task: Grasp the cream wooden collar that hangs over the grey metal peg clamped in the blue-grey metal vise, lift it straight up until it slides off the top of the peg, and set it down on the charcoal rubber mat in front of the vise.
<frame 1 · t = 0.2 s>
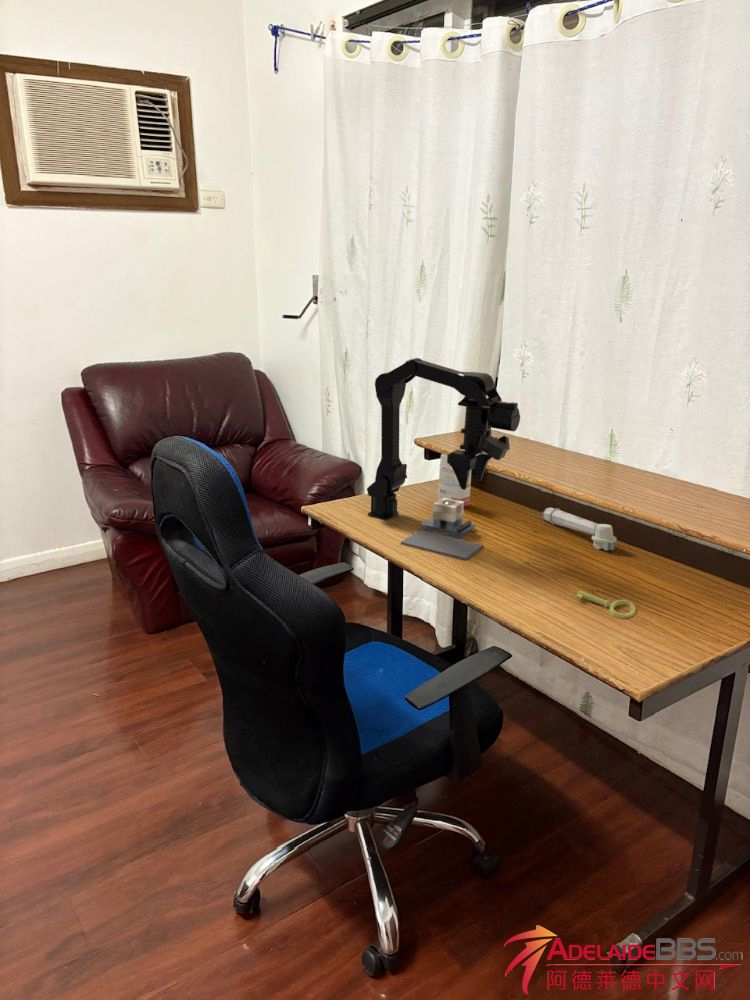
hand: (471, 484, 186), 14 cm above the table, tool pointing down, fingers open, 9 cm apart
charcoal mat: (441, 545, 182), on the table
grey pipe fitting: (577, 536, 191), on the table
key: (606, 609, 152), on the table
vise: (447, 529, 193), on the table
collar: (448, 516, 192), point 3 cm above the table, touching vise
ink cartridge box: (453, 504, 213), on the table
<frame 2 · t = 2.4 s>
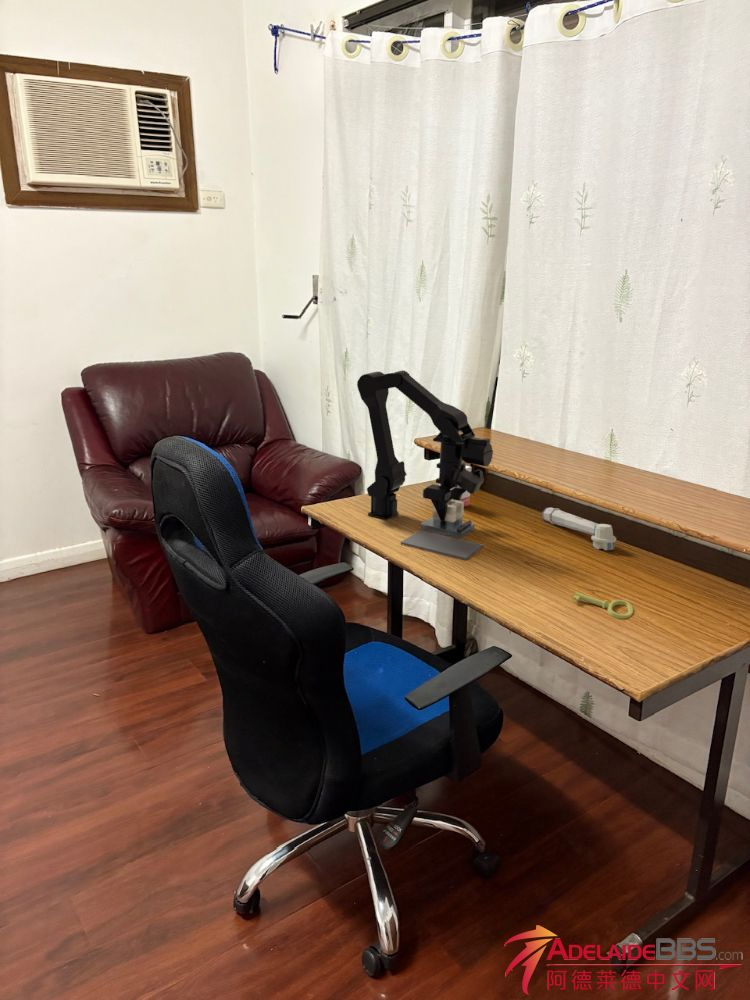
hand: (448, 516, 192), 4 cm above the table, tool pointing down, fingers closed on collar, 6 cm apart
collar: (448, 516, 192), point 3 cm above the table, touching gripper, vise
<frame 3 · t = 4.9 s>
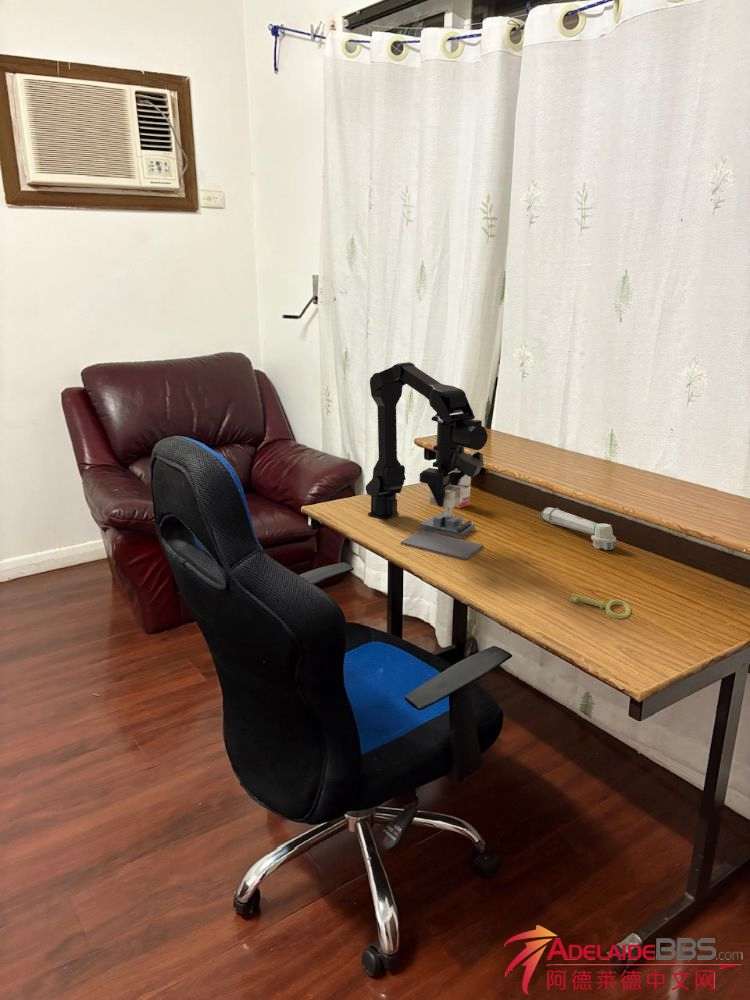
hand: (446, 503, 180), 11 cm above the table, tool pointing down, fingers closed on collar, 6 cm apart
collar: (446, 503, 180), point 11 cm above the table, touching gripper
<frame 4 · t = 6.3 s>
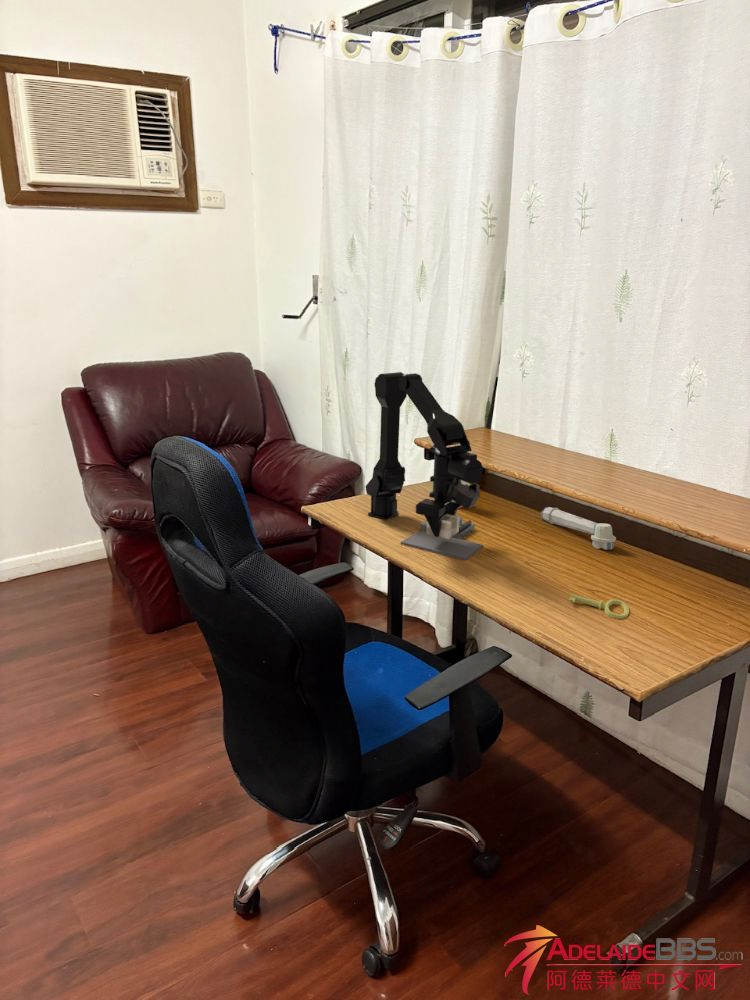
hand: (442, 532, 181), 3 cm above the table, tool pointing down, fingers closed on collar, 6 cm apart
collar: (442, 532, 181), point 3 cm above the table, touching gripper
when the fingers open (2 cm above the table, at t = 7.4 s): collar drops 2 cm, resting on charcoal mat.
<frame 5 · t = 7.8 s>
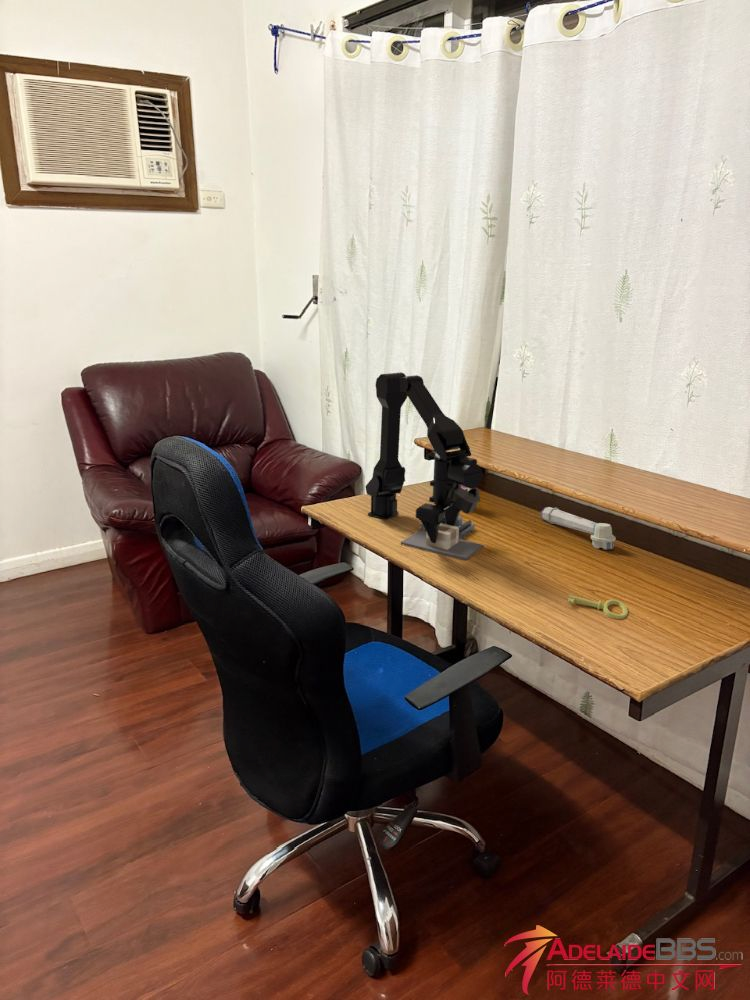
hand: (442, 537, 181), 2 cm above the table, tool pointing down, fingers open, 9 cm apart
collar: (442, 543, 182), point 1 cm above the table, touching charcoal mat
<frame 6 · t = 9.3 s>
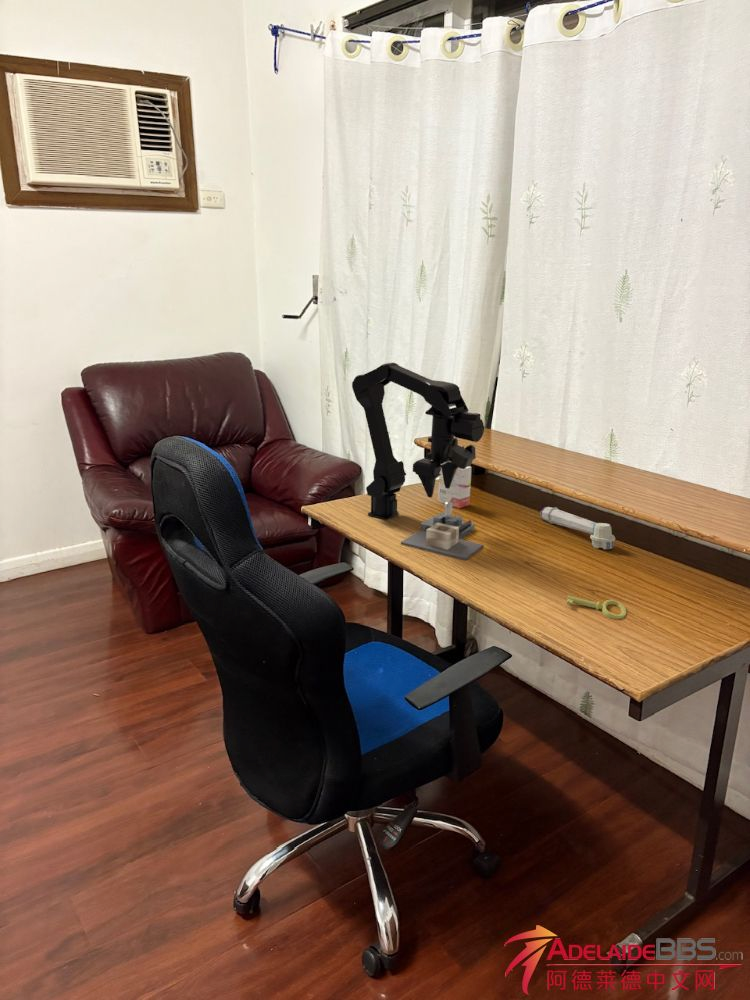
hand: (438, 492, 188), 11 cm above the table, tool pointing down, fingers open, 9 cm apart
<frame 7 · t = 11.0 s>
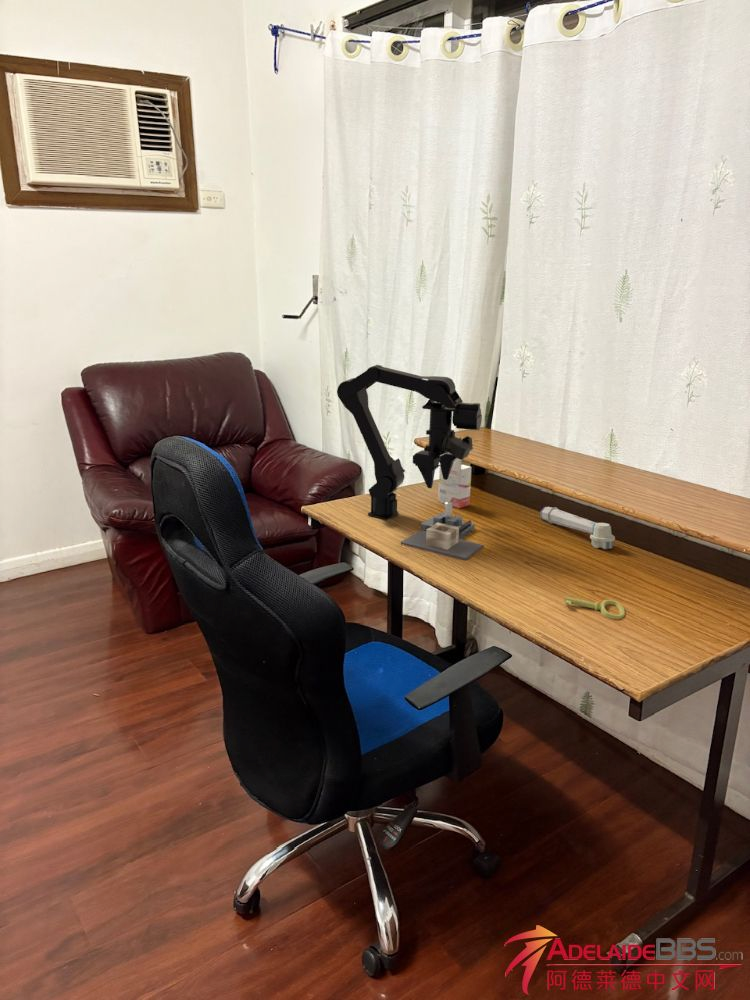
hand: (437, 483, 194), 11 cm above the table, tool pointing down, fingers open, 9 cm apart
at the end: collar inside the target area (0.0 cm from its centre), point 0.6 cm above the table; collar tilted 0°; the gripper is holding nothing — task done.
